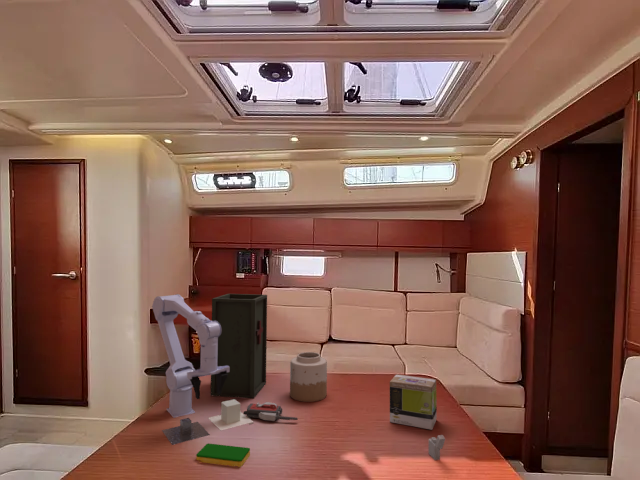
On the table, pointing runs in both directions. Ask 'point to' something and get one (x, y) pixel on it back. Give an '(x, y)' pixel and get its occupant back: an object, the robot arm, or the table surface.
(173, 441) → the post base
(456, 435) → the table surface
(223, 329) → the dark green tall box
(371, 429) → the table surface
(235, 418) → the pale grey cube box
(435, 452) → the lighter
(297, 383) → the vase
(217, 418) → the mat
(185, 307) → the robot arm
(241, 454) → the dish sponge
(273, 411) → the chainsaw
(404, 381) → the tea box
